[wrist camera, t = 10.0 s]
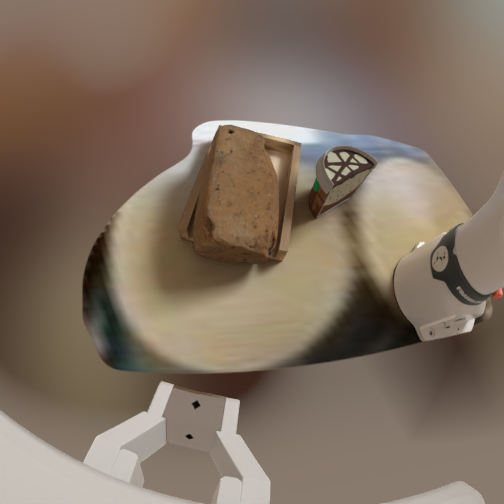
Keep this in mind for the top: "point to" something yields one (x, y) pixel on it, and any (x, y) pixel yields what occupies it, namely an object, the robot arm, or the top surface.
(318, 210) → the food container
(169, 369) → the top surface
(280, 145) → the wooden tray
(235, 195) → the block
